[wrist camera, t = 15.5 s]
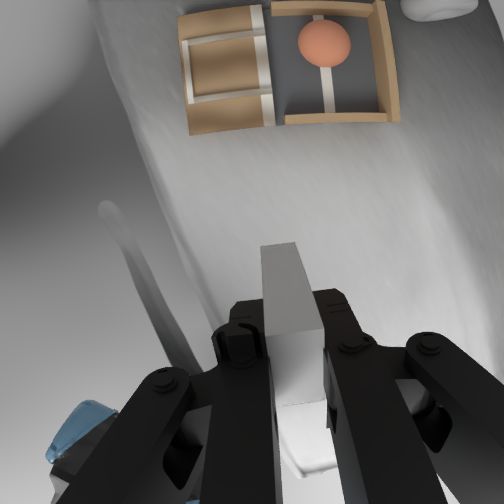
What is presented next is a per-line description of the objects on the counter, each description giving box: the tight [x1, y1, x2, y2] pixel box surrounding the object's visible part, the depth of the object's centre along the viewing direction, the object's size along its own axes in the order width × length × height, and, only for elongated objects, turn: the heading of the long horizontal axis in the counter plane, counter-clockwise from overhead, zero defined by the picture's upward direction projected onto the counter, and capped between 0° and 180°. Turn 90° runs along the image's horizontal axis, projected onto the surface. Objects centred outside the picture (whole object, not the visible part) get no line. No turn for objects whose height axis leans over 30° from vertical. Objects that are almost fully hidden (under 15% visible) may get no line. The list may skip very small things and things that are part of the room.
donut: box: [400, 0, 478, 22], centre depth 22 cm, size 10×4×10 cm, turn 112°
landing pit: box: [262, 0, 401, 125], centre depth 28 cm, size 14×13×4 cm
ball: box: [298, 19, 351, 67], centre depth 27 cm, size 5×5×5 cm
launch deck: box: [177, 4, 276, 136], centre depth 30 cm, size 14×9×3 cm, turn 6°
